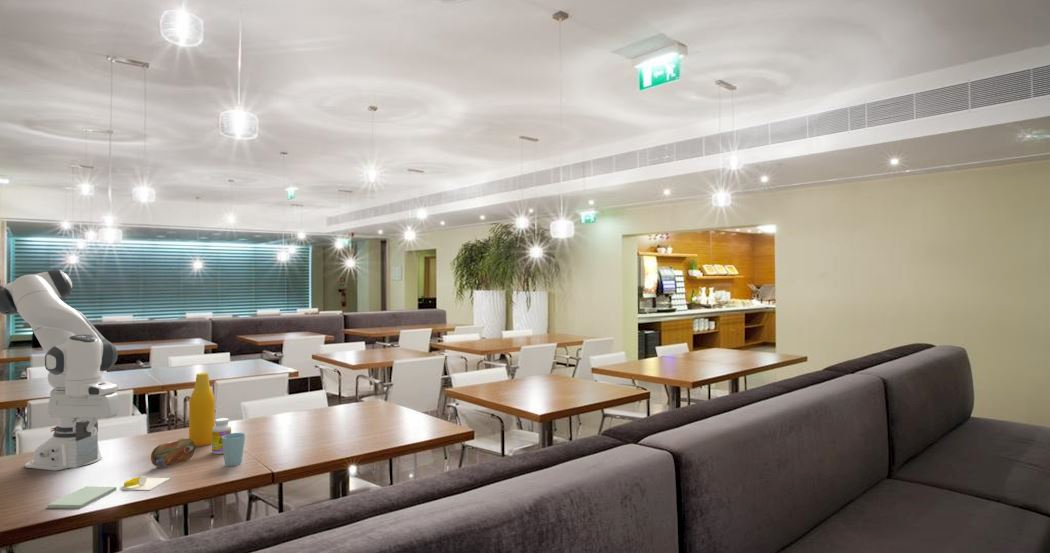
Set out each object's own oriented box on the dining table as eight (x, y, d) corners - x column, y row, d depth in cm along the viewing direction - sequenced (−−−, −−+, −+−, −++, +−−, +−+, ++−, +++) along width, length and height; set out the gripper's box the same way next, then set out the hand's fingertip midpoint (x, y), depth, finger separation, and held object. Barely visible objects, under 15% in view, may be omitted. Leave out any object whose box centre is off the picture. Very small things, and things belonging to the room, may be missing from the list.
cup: (216, 466, 200) (217, 438, 200) (230, 459, 207) (231, 432, 207) (235, 467, 199) (236, 439, 199) (249, 460, 206) (249, 433, 206)
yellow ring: (121, 489, 179) (134, 488, 178) (119, 481, 179) (132, 480, 178) (138, 482, 185) (151, 481, 183) (137, 474, 185) (150, 473, 183)
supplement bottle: (217, 455, 212) (217, 422, 211) (208, 452, 215) (208, 419, 215) (234, 451, 217) (234, 418, 217) (225, 448, 221) (225, 416, 221)
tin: (154, 470, 195) (154, 447, 195) (149, 469, 196) (149, 446, 196) (195, 458, 208) (195, 436, 208) (190, 457, 210) (190, 435, 210)
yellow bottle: (208, 438, 233) (208, 370, 233) (218, 442, 227) (219, 373, 227) (184, 443, 225) (185, 373, 225) (194, 448, 220) (195, 376, 220)
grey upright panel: (68, 467, 166) (68, 424, 166) (90, 458, 174) (90, 418, 174) (76, 467, 166) (76, 424, 166) (97, 458, 174) (97, 418, 174)
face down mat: (122, 490, 177) (122, 489, 177) (144, 478, 187) (144, 477, 187) (149, 490, 177) (149, 489, 177) (170, 479, 187) (170, 478, 187)
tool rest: (47, 507, 163) (47, 504, 163) (85, 489, 177) (85, 486, 177) (80, 508, 163) (80, 505, 163) (116, 490, 177) (116, 486, 177)
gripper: (41, 389, 167) (41, 434, 167) (107, 389, 167) (107, 434, 167) (59, 384, 173) (59, 428, 174) (123, 385, 173) (122, 429, 173)
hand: (83, 431), depth 170 cm, fingers closed on grey upright panel, 2 cm apart
